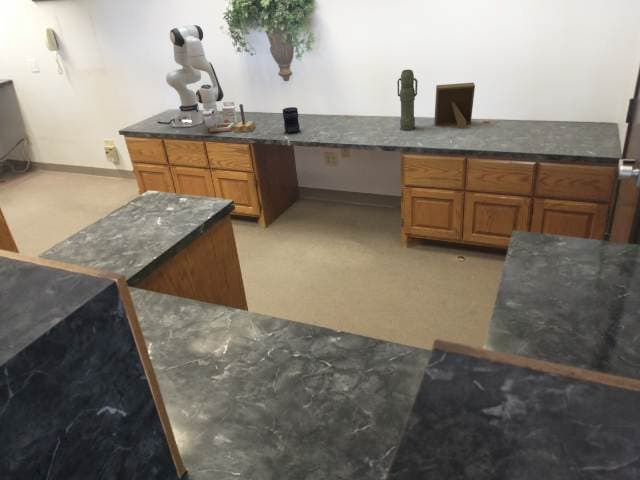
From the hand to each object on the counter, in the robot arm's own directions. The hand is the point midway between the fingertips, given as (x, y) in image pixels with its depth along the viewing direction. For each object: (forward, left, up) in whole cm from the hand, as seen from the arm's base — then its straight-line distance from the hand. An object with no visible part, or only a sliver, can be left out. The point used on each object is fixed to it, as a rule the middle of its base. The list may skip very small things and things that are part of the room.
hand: (214, 130), depth 348 cm
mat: (+4, +6, -1) cm, 7 cm away
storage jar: (+56, -10, -2) cm, 57 cm away
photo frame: (+158, -16, -2) cm, 159 cm away
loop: (+4, +6, -1) cm, 7 cm away
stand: (+21, +2, -1) cm, 21 cm away
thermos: (+130, -16, -2) cm, 131 cm away
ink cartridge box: (+6, +21, -2) cm, 22 cm away
